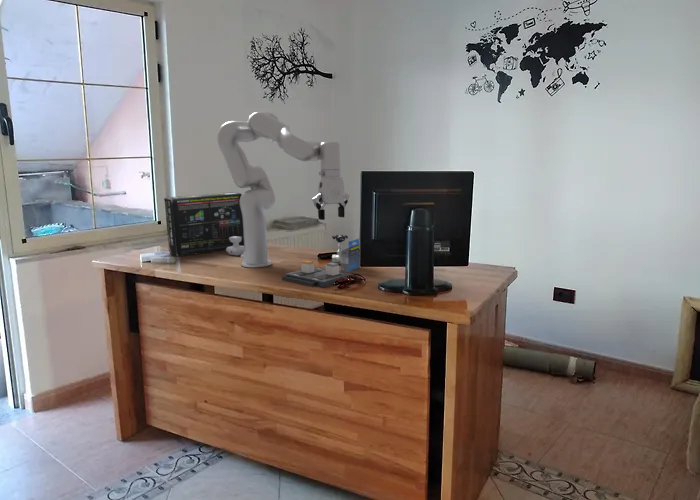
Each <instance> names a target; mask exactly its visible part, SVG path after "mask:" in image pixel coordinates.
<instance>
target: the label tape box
mask: <svg viewBox="0 0 700 500" xmlns="http://www.w3.org/2000/svg"><path fill="white" fill-rule="evenodd" d="M359 240H360V238H356V239H353V240H350V241H347V243H348V247H347V248H345V249H342V251H341V264H340V272H344V273H350V272H352V271H354V270H356V269H359V268H360V259H359ZM354 243H355V244H354Z"/></svg>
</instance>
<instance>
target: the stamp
mask: <svg viewBox="0 0 700 500" xmlns="http://www.w3.org/2000/svg"><path fill="white" fill-rule="evenodd" d="M229 240H230V242H233V246H230V247H227V248H226V250H225V251H226V252H227V253H228V254H229V255H231V256H235V255H236V256H237V257H238V256H241V255H243V254H244V246H239V242H241V240H242V237H238V236H233V237H229Z"/></svg>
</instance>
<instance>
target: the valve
mask: <svg viewBox="0 0 700 500" xmlns="http://www.w3.org/2000/svg"><path fill="white" fill-rule="evenodd" d="M348 238H349V236H348V234H344V235H343V234H335V235H332V239H333V240H335V241H336V242H337V243H338V244H337V248H338V249H337V250H336V254H332V256H331V262H332V263H337V264H338V265H341V251H342V250H343V244H342V243H343V242H345V240H346V239H347V240H348Z"/></svg>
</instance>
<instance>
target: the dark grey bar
mask: <svg viewBox="0 0 700 500" xmlns="http://www.w3.org/2000/svg"><path fill="white" fill-rule="evenodd" d="M281 279H282V281H285V280H286V281H285V282H289V283H290V282H291V283H295V284H299V285H304V286H308V287H312V288H313V287H315V282H310V281H306V280H301V279H296V278H292V277H287V276H285V275H282V276H281Z"/></svg>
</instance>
